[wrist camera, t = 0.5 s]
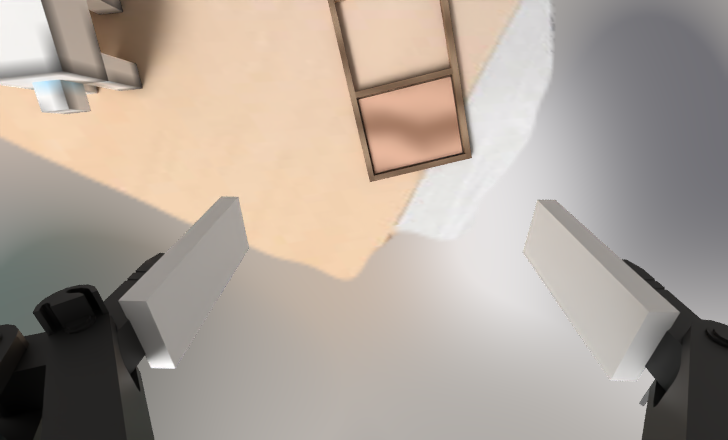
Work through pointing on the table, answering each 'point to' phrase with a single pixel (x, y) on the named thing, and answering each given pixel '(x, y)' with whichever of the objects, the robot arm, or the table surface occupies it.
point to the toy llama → (59, 52)
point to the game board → (410, 115)
